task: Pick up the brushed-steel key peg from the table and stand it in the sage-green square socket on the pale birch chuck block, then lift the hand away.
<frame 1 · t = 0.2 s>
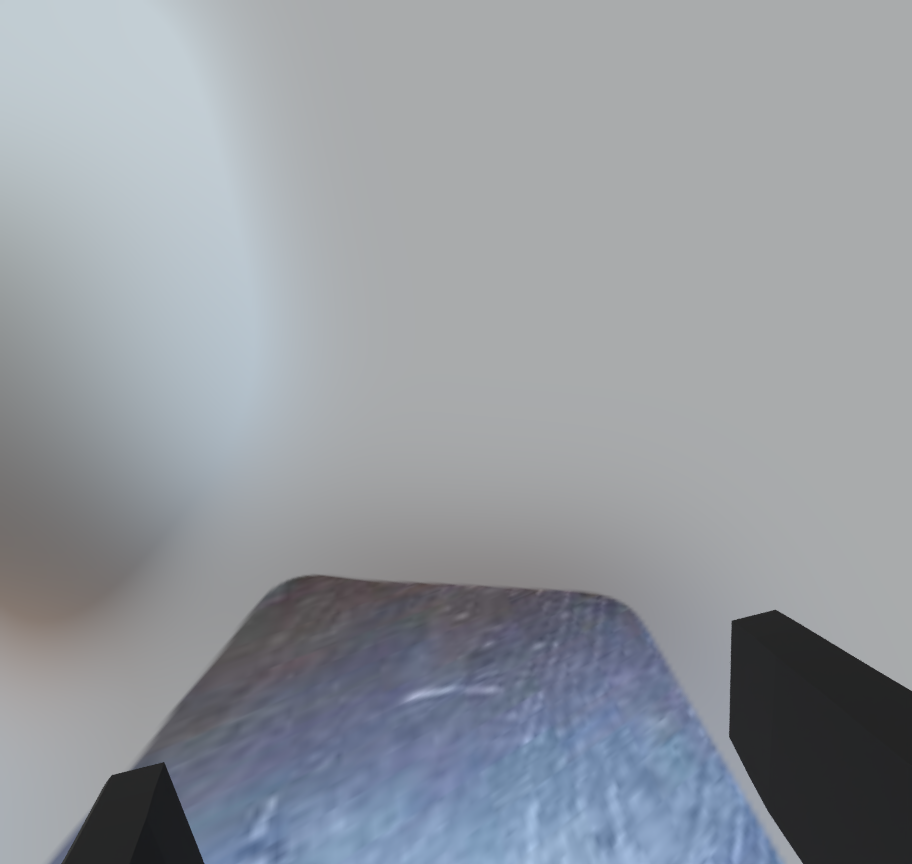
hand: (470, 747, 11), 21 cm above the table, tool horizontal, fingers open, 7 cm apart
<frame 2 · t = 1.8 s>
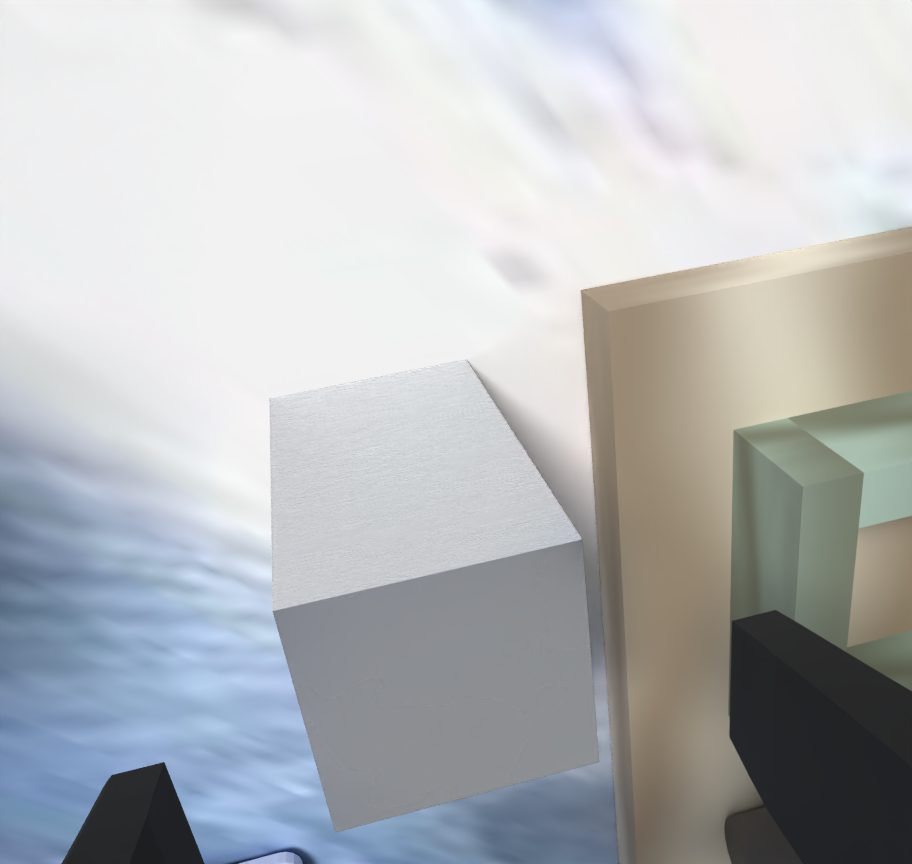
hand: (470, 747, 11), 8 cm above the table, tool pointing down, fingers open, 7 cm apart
chuck block: (840, 610, 22), on the table
key peg: (385, 465, 18), on the table
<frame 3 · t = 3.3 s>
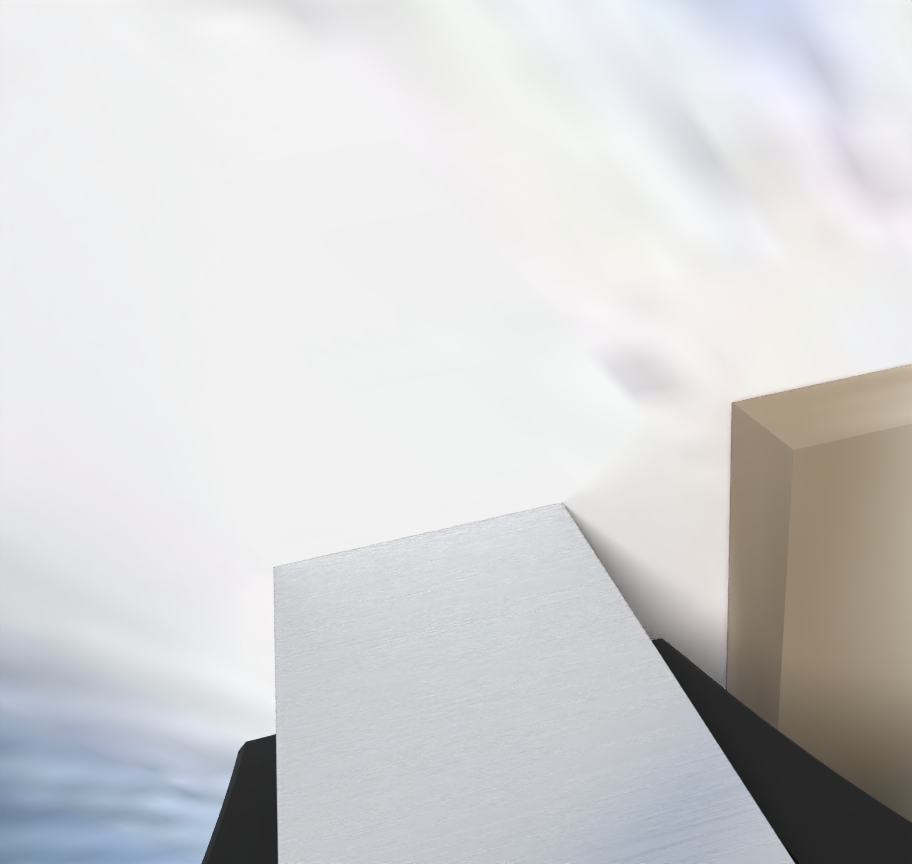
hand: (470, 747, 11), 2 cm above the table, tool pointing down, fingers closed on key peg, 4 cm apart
key peg: (441, 648, 12), on the table, touching gripper
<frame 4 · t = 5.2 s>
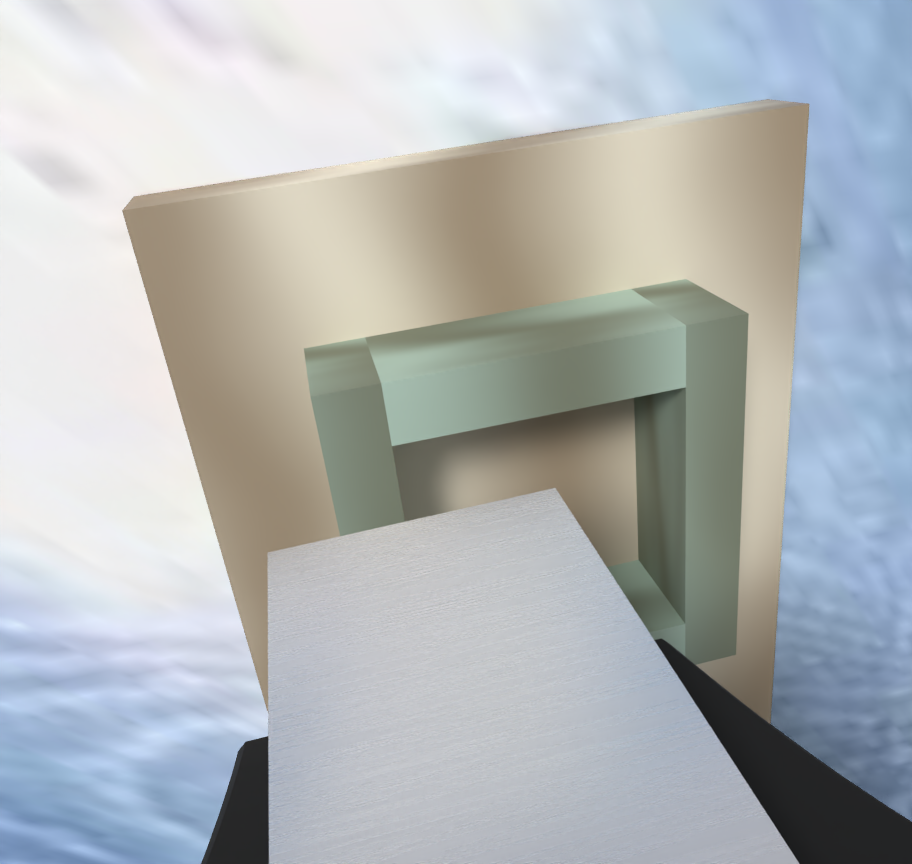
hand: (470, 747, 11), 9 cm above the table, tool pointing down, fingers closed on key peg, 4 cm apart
chuck block: (511, 558, 21), on the table
key peg: (435, 634, 12), point 7 cm above the table, touching gripper
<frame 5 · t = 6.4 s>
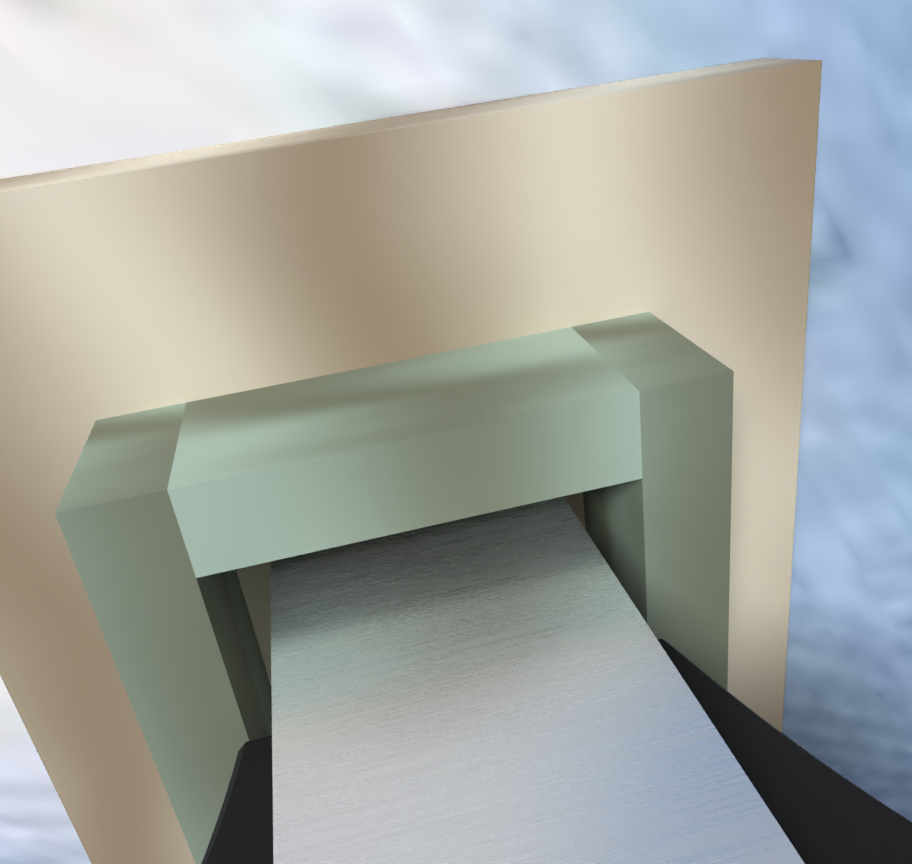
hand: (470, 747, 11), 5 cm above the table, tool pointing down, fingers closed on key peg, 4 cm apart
chuck block: (434, 669, 16), on the table
key peg: (437, 634, 12), point 3 cm above the table, touching gripper
when the fingers open (5 cm above the table, at t = 7.1 s): key peg drops 1 cm, resting on chuck block.
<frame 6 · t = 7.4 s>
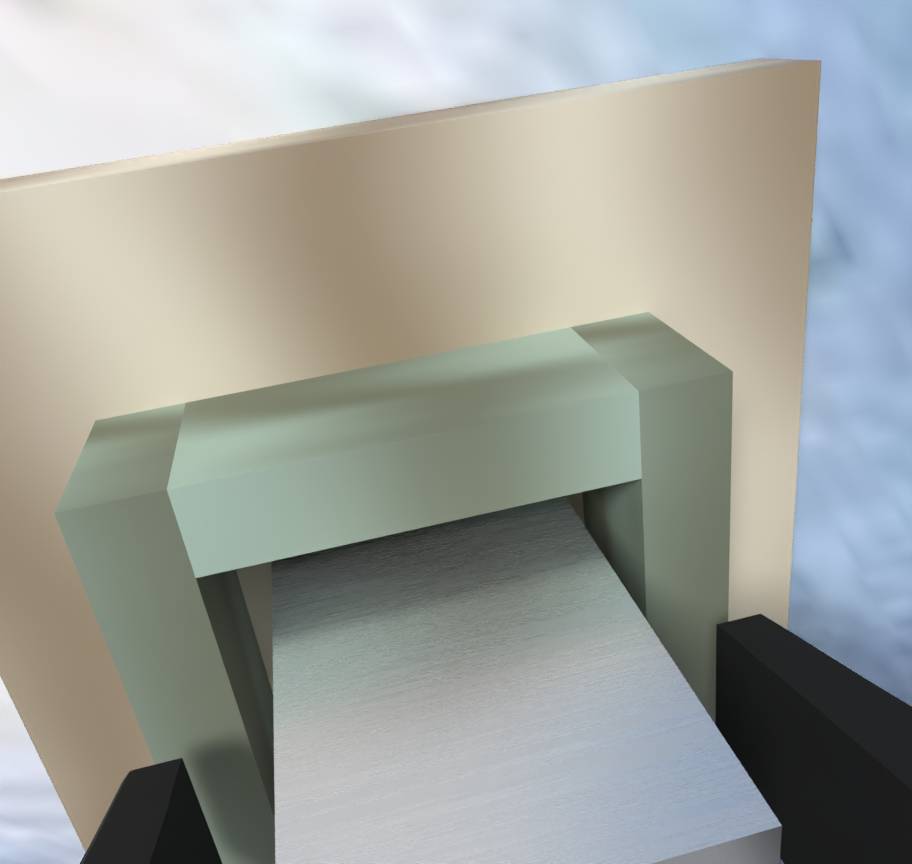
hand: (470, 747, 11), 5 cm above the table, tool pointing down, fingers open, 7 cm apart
chuck block: (433, 669, 16), on the table
key peg: (423, 581, 13), point 1 cm above the table, touching chuck block
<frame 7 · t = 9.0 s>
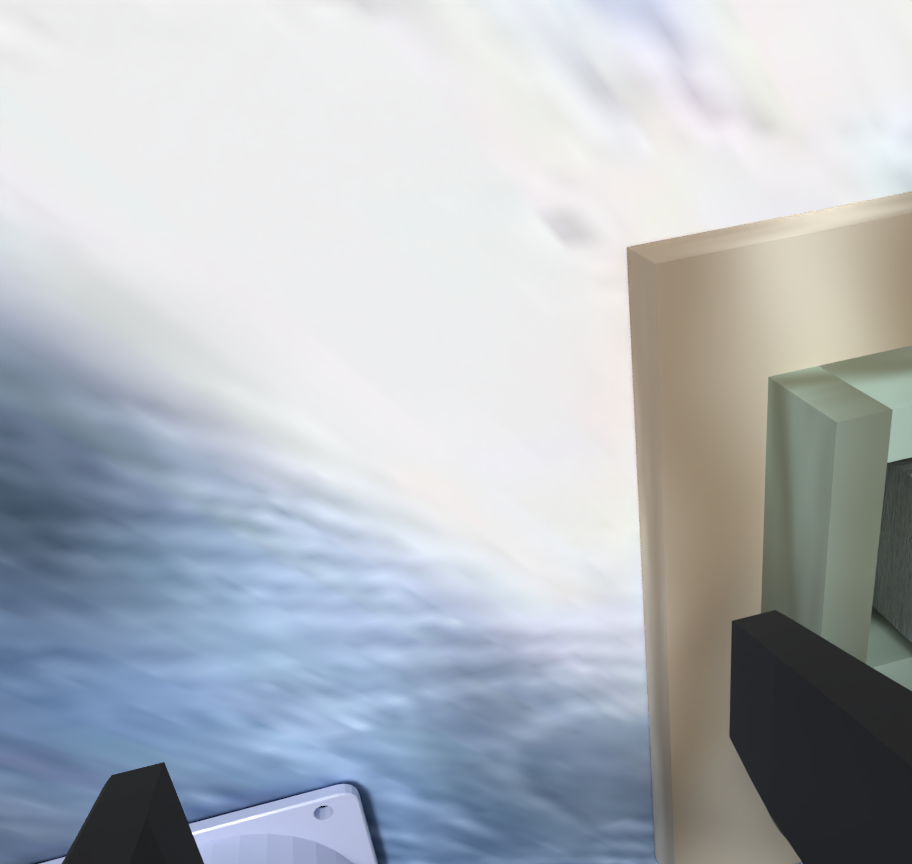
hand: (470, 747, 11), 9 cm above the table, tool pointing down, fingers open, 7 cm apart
chuck block: (863, 556, 23), on the table
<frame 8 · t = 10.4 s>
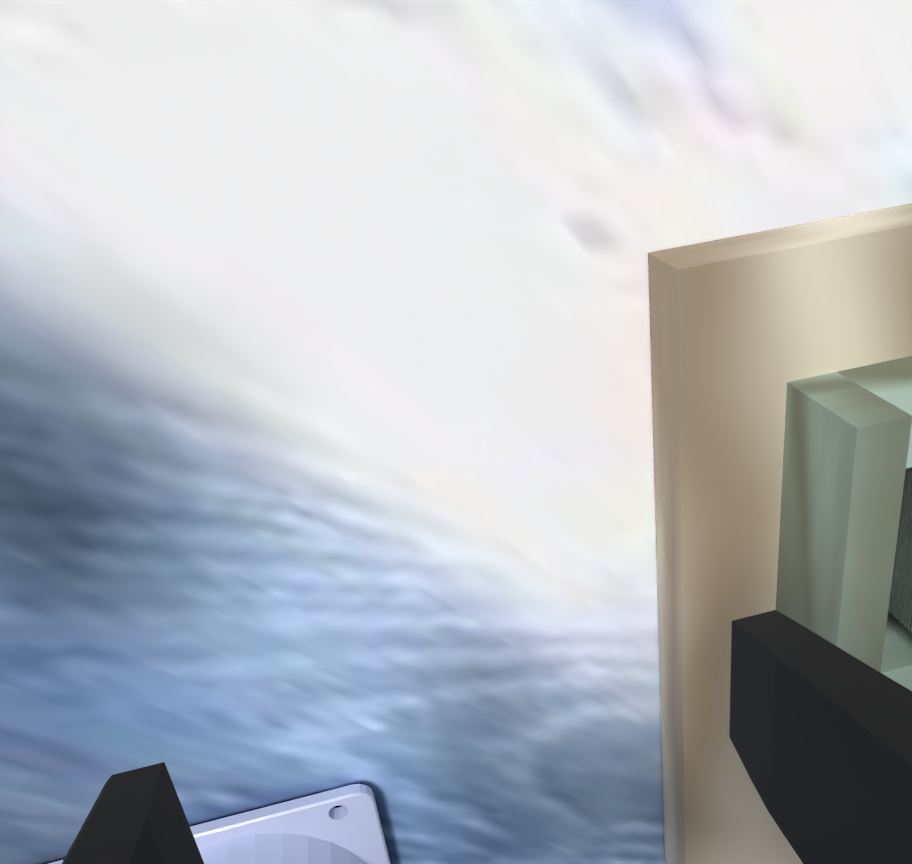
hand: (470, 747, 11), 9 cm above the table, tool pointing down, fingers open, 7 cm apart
chuck block: (875, 561, 24), on the table
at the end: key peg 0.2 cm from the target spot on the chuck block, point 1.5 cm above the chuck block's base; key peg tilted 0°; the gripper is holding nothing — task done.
